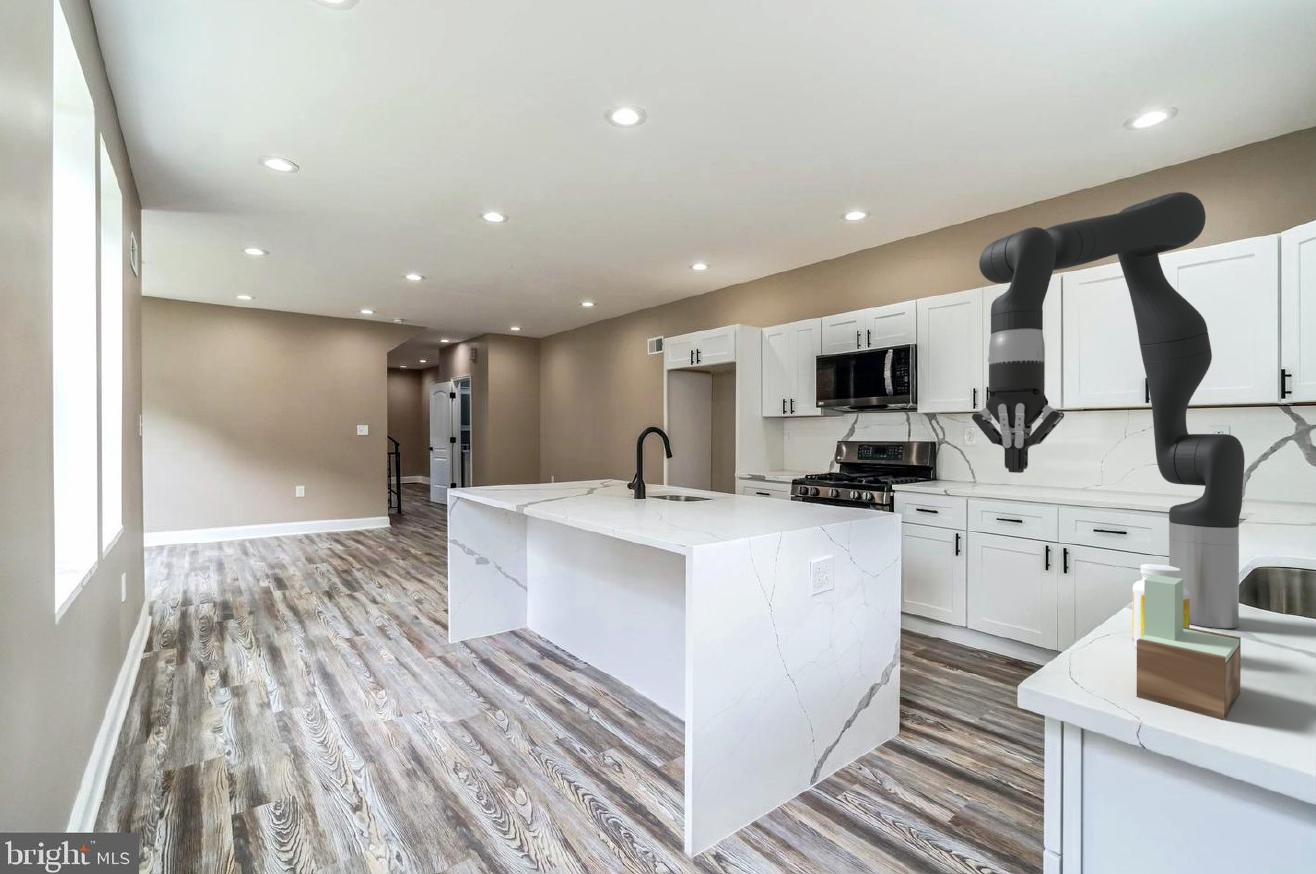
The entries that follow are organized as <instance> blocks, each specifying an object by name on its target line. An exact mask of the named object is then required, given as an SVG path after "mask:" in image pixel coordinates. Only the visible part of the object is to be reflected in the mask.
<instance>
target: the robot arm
mask: <svg viewBox="0 0 1316 874" xmlns="http://www.w3.org/2000/svg"><path fill="white" fill-rule="evenodd" d="M1205 209H1206V208H1205V207H1204V204H1203V202H1202V201H1201V199H1199V197H1197V196H1196V195H1194V194H1193V193H1191V192H1190V193H1189V192H1187V191H1178V192H1177V191H1176V192H1171V193H1166V194H1163V195H1160V196H1157V197H1153V198H1151V199H1148V200H1145V201H1142V202H1138V203H1134V204H1132V205H1130V206H1127V207H1125V208H1123V209H1122V210H1120V211H1119V212H1118V213H1113V214H1108V215H1102V216H1096V217H1091V218H1086V219H1080V220H1076V221H1075V220H1074V221H1070V222H1065V223H1059V224H1056V225H1053V226H1050V227H1047V228H1045V229H1044V228H1042V227H1037V226H1034V227H1033V226H1032V227H1028V228H1025V229H1022V230H1020V231H1016V232H1015V233H1011V234H1010V235H1007V236H1005V237H1002V238H1000V239H996V240H995V241H993V242H991V243H989V244H988V245H987V246H986V247H985V248H984V250H983V251H982V253H981V255H980V257H979V262H978V264H979V265H978V266H979V270H980V273H981V275H982V276H983V277H984V278H985V279H986V280H987V281H989V282H991V283H995V284H1008V283H1010V284H1009V288H1008V289H1007V290H1006V291H1005V292H1004V293H1002V294H1001V295H1000V296H998V297H996V298H995V299H994V300H993V301H992V303H991V305H990V306H991V307H990V339H989V345H988V357H987V362H988V394H989V395H988V399H987V401H986V402H985V407H984V408H983V409H981V410H980V411H979V412H977V413H973V414H972V415H971V419H972V421H973V422H974V423H975V424H976V425H977V427H978V428H979V429H980V430H981V432H982V433H984V435H985V436H986V438H987V439H988V440H989V441H990V442H991V444H993V445H998V446H1001V447H1003V449H1004V467H1005V469H1008V472H1009V473H1016V474H1021V473H1024V472H1025V470H1027V468H1028V466H1029V448H1030V447H1032V446H1037V445H1040V444H1042V442H1043V441H1045V439H1046V438H1047V437H1048V436H1049V435H1050V434H1051V432H1052V431H1053V430H1054V429H1055V428H1056V427H1057V426H1058V424H1059V423H1060V422H1061V421H1062V420H1063V419H1064V418H1065V414H1064V412H1063V411H1058V410H1056V409H1055V408H1054V407H1051V406H1050V405H1049V400H1048V398H1047V397H1046V394H1045V383H1046V381H1045V378H1046V377H1045V371H1046V370H1045V369H1046V368H1045V365H1046V363H1045V359H1046V356H1045V353H1046V351H1045V346H1046V345H1045V339H1044V325H1043V324H1044V318H1043V317H1044V314H1043V313H1044V310H1043V309H1044V308H1043V305H1044V301H1045V299H1046V295H1047V292H1048V290H1049V285H1050V282H1051V278H1052V275H1053V272H1054V271H1058V270H1063V269H1065V270H1066V269H1069V268H1074V267H1078V266H1081V265H1082V266H1083V265H1085V264H1088V263H1092V262H1095V261H1099V260H1102V259H1105V258H1108V257H1111V256H1115V255H1117V257H1118V260H1119V261H1118V262H1119V264H1120V267H1121V271H1122V273H1123V275H1124V279H1125V283H1126V286H1127V288H1128V292H1129V296H1130V300H1131V305H1132V308H1133V309H1132V310H1133V313H1134V318H1135V323H1136V329H1137V338H1138V342H1139V349H1140V353H1141V359H1142V364H1143V367H1144V371H1145V376H1146V382H1147V385H1148V386H1147V387H1148V390H1149V391H1148V392H1149V397H1150V403H1151V411H1152V422H1153V434H1154V444H1155V445H1154V446H1155V457H1156V463H1157V467H1158V469H1159V473H1160V474H1161V476H1162V478H1163V479H1164V480H1165V482H1168V483H1171V484H1175V485H1184V486H1201V487H1204V486H1205V487H1204V492H1203V495H1202V496H1200V497H1198V498H1196V499H1195V500H1193V501H1189V502H1184V503H1181V504H1175V505H1173V506H1171V507H1170V508H1169V511H1168V566H1171V567H1176V568H1179V569H1180V570H1181V577H1180V578H1181V579H1183V587H1185V588H1186V589H1187V590H1188V592H1189V619H1190V621H1189V622H1190V624H1189V625H1191V624H1192V625H1196V626H1201V627H1209V628H1217V629H1234V628H1235V629H1236V628H1238V627H1240V626H1239V625H1240V623H1239V619H1240V613H1239V612H1240V609H1239V608H1240V557H1239V556H1240V535H1239V534H1240V532H1239V531H1240V517H1241V512H1242V508H1243V507H1242V506H1243V488H1244V487H1243V485H1244V477H1245V461H1246V460H1245V451H1244V448H1243V444H1242V443H1241V441H1240V440H1239V438H1237V437H1236V436H1235V435H1232V434H1227V433H1189V431H1188V427H1187V410H1188V406H1189V404H1190V402H1191V399H1192V397H1193V396H1194V394H1195V392H1196V390H1197V389H1198V387H1199V386H1200V384H1201V382H1202V381H1203V380H1204V377H1205V376H1206V374H1207V373H1208V371H1209V369H1210V367H1211V363H1212V360H1213V359H1212V357H1213V353H1212V347H1211V342H1210V335H1209V331H1208V330H1209V329H1208V327H1207V326H1208V325H1207V322H1206V320H1205V318H1204V317H1203V315H1202V314H1201V312H1199V311H1198V310H1197V309H1196V307H1194V306H1193V304H1191V303H1190V302H1189V301H1188V300H1187V299H1186V298H1184V296H1182V295H1181V294H1180V293H1179V292H1178V291H1177V290H1176V289H1175V288H1174V287H1173V286H1172V285H1171V284H1170V282H1169V281H1168V279H1167V278H1166V276H1165V273H1164V271H1163V268H1162V264H1161V262H1160V257H1159V254H1161V253H1165V252H1170V251H1174V250H1177V249H1180V248H1182V247H1185V246H1187V245H1189V244H1191V243H1193V242H1194V241H1195V240H1196V239H1198V238H1199V236H1200V235H1201V234H1202V232H1203V230H1204V228H1205V225H1206V218H1207V217H1206V215H1207V214H1206V211H1205ZM1040 416H1041V419H1042V422H1041V423H1040V424H1039V425H1038V426H1037V427H1036V429H1034V431H1033V430H1032V429H1033V425H1034V423H1035V422H1037V420H1038V419H1039V418H1040ZM993 419H994V420H995V421H996V422H997V423H998V424H999V426H1000V427H999V428H1000V429H999V430H1000V431H999V430H998V429H997V427H996V426H995V425H994V424H993V423H992V420H993ZM1032 431H1033V432H1032Z"/></svg>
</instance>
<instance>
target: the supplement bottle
mask: <svg viewBox="0 0 1316 874" xmlns="http://www.w3.org/2000/svg"><path fill="white" fill-rule="evenodd" d="M1139 571H1140V575H1142V577H1141V578H1142V579H1141V580H1137V581H1135V582H1134V584H1133V585H1132V645H1133V647H1134V648H1135V649H1137V640H1138V639H1140V638H1141V637H1142V636H1143V635H1144V580H1146V579H1147V578H1149V577H1151V576H1153V575H1159V576H1166V577H1173V578H1180V577H1181V570H1180V569H1179V568H1176V567H1171V566H1169V565H1165V564H1155V563H1153V564H1151V563H1143V564H1141V565H1140V570H1139ZM1189 621H1190V619H1189V592H1188V590H1187V589H1186V588H1185V587H1183V627H1188V628H1191V627H1190V625H1191V624H1190V622H1189Z"/></svg>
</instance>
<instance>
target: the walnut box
mask: <svg viewBox="0 0 1316 874" xmlns="http://www.w3.org/2000/svg"><path fill="white" fill-rule="evenodd" d="M1183 629H1187V630H1193V631H1198V632H1203V633H1209V634H1214V635H1219V636H1224V637H1230V638H1235V639H1239V646H1238V647H1237V649H1236V650H1235V651H1234V653H1233V654H1232V656H1231V657H1230V658H1229V660H1228V661H1227V662H1225V657H1222V656H1218V655H1213V654H1208V653H1203V652H1198V651H1194V650H1189V649H1184V648H1179V647H1174V646H1170V645H1165V644H1160V643H1155V642H1150V641H1146V640H1141V639H1138V640H1137V648H1136V697H1137V698H1140V699H1144V700H1149V701H1152V702H1155V703H1159V704H1163V705H1167V706H1170V707H1174V708H1177V709H1181V710H1186V711H1188V712H1194V713H1196V714H1200V715H1203V716H1204V715H1205V716H1207V717H1211V718H1212V717H1213V718H1214V719H1215V718H1216V719H1218V718H1219V720H1223V721H1225V719H1226V717H1227V716H1228V715H1229V713H1230V711H1231V709H1232V708H1233V705H1234V704H1235V702H1236V701H1237V700H1238V698H1239V696H1240V694H1241V667H1242V666H1241V660H1242V659H1241V657H1242V655H1241V652H1242V651H1241V639H1242V638H1241V636H1236V635H1230V634H1226V633H1225V634H1224V633H1220V632H1215V631H1214V632H1213V631H1210V630H1203V629H1197V628H1194V627H1193V628H1192V627H1190V628H1188V627H1183Z"/></svg>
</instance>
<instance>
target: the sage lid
mask: <svg viewBox="0 0 1316 874" xmlns="http://www.w3.org/2000/svg"><path fill="white" fill-rule="evenodd" d="M1140 639H1141V640H1146V641H1150V642H1155V643H1160V644H1165V645H1170V646H1174V647H1179V648H1184V649H1189V650H1194V651H1198V652H1203V653H1208V654H1213V655H1218V656H1222V657H1225V662H1227V661H1228V660H1229V658H1230V657H1231V656H1232V654H1233V653H1234V651H1235V650H1236V649H1237V647H1238V646H1239V639H1235V638H1230V637H1224V636H1219V635H1214V634H1209V633H1203V632H1198V631H1193V630H1187V629H1183V579H1181V578H1173V577H1166V576H1159V575H1153V576H1151V577H1149V578H1147V579H1146V580H1144V635H1143V636H1142V637H1141V638H1140Z"/></svg>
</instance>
